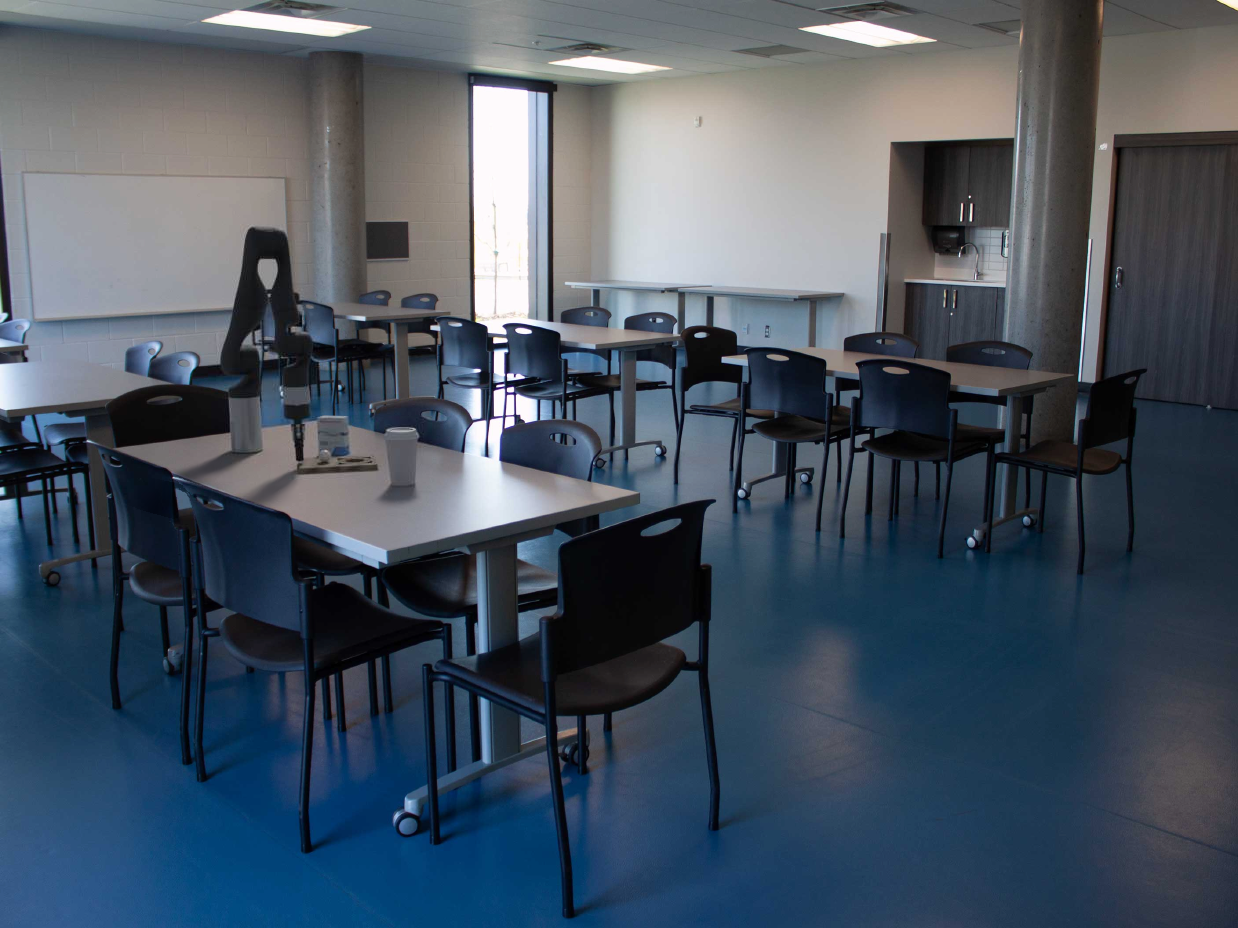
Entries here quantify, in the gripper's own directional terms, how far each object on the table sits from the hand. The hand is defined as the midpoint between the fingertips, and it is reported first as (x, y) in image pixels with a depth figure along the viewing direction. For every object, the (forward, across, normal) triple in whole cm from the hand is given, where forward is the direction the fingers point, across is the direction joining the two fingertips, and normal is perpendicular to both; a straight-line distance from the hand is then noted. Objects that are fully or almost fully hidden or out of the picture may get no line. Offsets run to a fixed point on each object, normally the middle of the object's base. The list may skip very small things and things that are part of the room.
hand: (299, 460), depth 317 cm
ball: (-1, 0, +7) cm, 7 cm away
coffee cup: (+3, +28, +27) cm, 39 cm away
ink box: (+3, -21, +10) cm, 23 cm away
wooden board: (+2, 0, +11) cm, 11 cm away
